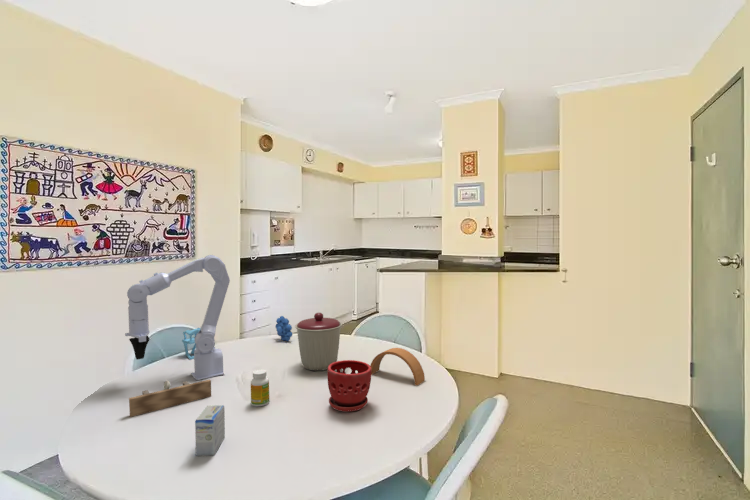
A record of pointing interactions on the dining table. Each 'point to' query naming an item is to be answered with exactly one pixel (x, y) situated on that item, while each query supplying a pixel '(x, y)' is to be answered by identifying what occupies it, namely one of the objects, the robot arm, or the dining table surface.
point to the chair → (190, 341)
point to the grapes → (283, 328)
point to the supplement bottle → (259, 388)
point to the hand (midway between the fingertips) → (139, 358)
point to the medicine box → (210, 430)
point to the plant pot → (349, 385)
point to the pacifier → (166, 385)
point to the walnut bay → (169, 397)
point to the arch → (405, 356)
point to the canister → (318, 341)
